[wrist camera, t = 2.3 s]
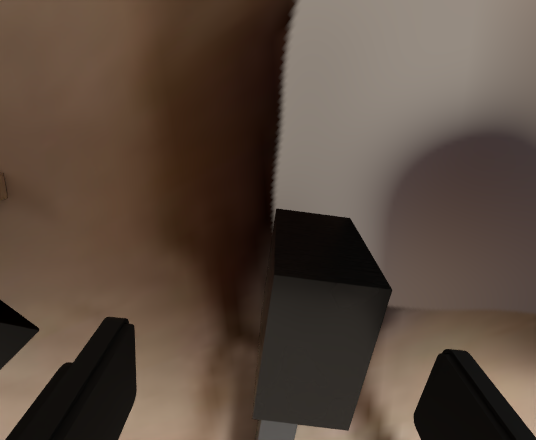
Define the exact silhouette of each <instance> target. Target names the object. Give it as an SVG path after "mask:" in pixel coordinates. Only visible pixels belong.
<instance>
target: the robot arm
mask: <svg viewBox="0 0 536 440" xmlns="http://www.w3.org/2000/svg"><path fill="white" fill-rule="evenodd" d="M135 397H136V361H135V331H134V325H133V324H129V321H128V319H126V318H115V317H106V318H105V319H104V320H103V322H102V323H101V325H100V326H99V327H98V329H97V330H96V332H95V333H94V334H93V336H92V337H91V338H90V340H89V341H88V343H87V344H86V345H85V347H84V348H83V350H82V351H81V352H80V354H79V355H78V357H77V358H76V359H75V361H74V362H73V363H71V362H68V363H65V364H63V365H62V366H61V367H60V368H59V369H58V371H57V372H56V373H55V375H54V376H53V377H52V379H51V380H50V381H49V383H48V384H47V385H46V386H45V388H44V389H43V390H42V392H41V393H40V394H39V396H38V397H37V398H36V400H35V401H34V402H33V404H32V405H31V406H30V408H29V409H28V410H27V412H26V413H25V414H24V416H23V417H22V418H21V420H20V421H19V422H18V424H17V425H16V426H15V428H14V429H13V430H12V432H11V433H10V434H9V436H8V437H7V438H6V440H118V439H119V436H120V434H121V432H122V429H123V427H124V425H125V422H126V420H127V418H128V415H129V413H130V411H131V408H132V406H133V404H134V401H135ZM414 424H415V427H416V429H417V432H418V434H419V436H420V438H421V440H536V437H535V436H534V435H533V433H532V432H531V431H530V430H529V428H528V427H527V426H526V425H525V423H524V422H523V421H522V419H521V418H520V417H519V416H518V414H517V413H516V412H515V411H514V409H513V408H512V407H511V406H510V404H509V403H508V402H507V400H506V399H505V398H504V397H503V395H502V394H501V393H500V392H499V390H498V389H497V388H496V387H495V385H494V384H493V383H492V381H491V380H490V379H489V378H488V376H487V375H486V374H485V373H484V371H483V370H482V369H481V368H480V366H479V365H478V364H477V362H476V361H475V360H474V359H473V357H472V356H471V355H470V354H469V353H468V352H466V351H463V350H452V349H445V350H444V351H443V352H442V353H441V354H439V355H438V356H437V359H436V361H435V363H434V366H433V368H432V371H431V373H430V376H429V378H428V380H427V383H426V385H425V388H424V390H423V393H422V395H421V398H420V400H419V402H418V405H417V407H416V410H415V412H414Z"/></svg>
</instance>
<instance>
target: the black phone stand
mask: <svg viewBox="0 0 536 440" xmlns="http://www.w3.org/2000/svg"><path fill="white" fill-rule="evenodd" d="M38 331H39V328H38V327H37V326H35V325H34V324H32V323H31V322H30V321H28V320H27V319H26V318H24V317H23V316H22V315H20V314H19V313H18V312H16V311H15V310H14V309H12V308H11V307H9V306H8V305H7V304H5V303H4V302H3V301H1V300H0V369H1V368H2V367H3V366H4V365H5V364H6V363H7V362H8V361H9V360H10V359H11V358H12V357H13V356H14V355H15V354H16V353H17V352H18V351H19V350H20V349H21V348H22V347H23V346H24V345H25V344H26V343H27V342H28V341H29V340H30V339H31V338H32V337H33V336H34V335H35V334H36V333H37V332H38Z"/></svg>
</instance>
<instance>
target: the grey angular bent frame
mask: <svg viewBox="0 0 536 440" xmlns="http://www.w3.org/2000/svg"><path fill="white" fill-rule="evenodd" d="M391 292H392V289H391V287H390V285H389V284H388V282H387V280H386V279H385V277H384V275H383V273H382V272H381V270H380V268H379V266H378V265H377V263H376V261H375V260H374V258H373V256H372V255H371V253H370V251H369V250H368V248H367V246H366V244H365V243H364V241H363V239H362V238H361V236H360V234H359V232H358V231H357V229H356V227H355V226H354V224H353V222H352V221H351V219H350V218H345V217H337V216H330V215H321V214H314V213H306V212H299V211H291V210H283V209H276V214H275V221H274V228H273V235H272V242H271V249H270V256H269V263H268V270H267V277H266V284H265V291H264V298H263V306H262V313H261V324H260V335H259V347H258V358H257V370H256V382H255V393H254V405H253V417H252V419H257V420H258V425H257V431H256V438H255V440H294V438H295V434H296V429H297V425H307V426H315V427H323V428H331V429H340V430H349V427H350V424H351V421H352V418H353V414H354V411H355V408H356V405H357V402H358V398H359V395H360V392H361V389H362V385H363V382H364V379H365V376H366V373H367V369H368V366H369V363H370V360H371V357H372V353H373V350H374V347H375V344H376V341H377V337H378V334H379V331H380V328H381V325H382V321H383V318H384V315H385V312H386V308H387V305H388V302H389V299H390V296H391Z"/></svg>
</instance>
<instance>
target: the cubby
mask: <svg viewBox="0 0 536 440" xmlns="http://www.w3.org/2000/svg"><path fill="white" fill-rule="evenodd" d="M6 198H8V197H7V192H6V186H5V180H4V175H3V173H0V200H3V199H6Z"/></svg>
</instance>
